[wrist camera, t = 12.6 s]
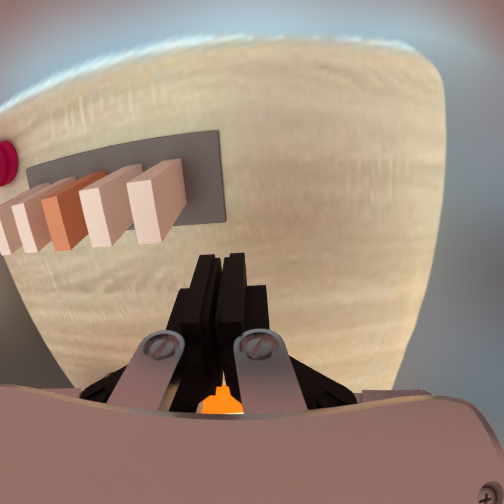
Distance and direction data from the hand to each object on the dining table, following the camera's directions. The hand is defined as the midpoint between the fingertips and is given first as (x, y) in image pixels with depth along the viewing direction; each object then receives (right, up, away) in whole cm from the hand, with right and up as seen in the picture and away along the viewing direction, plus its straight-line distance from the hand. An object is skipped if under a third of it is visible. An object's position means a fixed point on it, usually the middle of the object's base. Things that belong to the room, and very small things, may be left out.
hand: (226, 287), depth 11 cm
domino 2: (-21, +8, +19) cm, 29 cm away
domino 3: (-16, +8, +19) cm, 26 cm away
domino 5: (-7, +9, +18) cm, 22 cm away
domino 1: (-25, +8, +19) cm, 32 cm away
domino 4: (-12, +9, +18) cm, 23 cm away
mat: (-15, +9, +19) cm, 26 cm away
